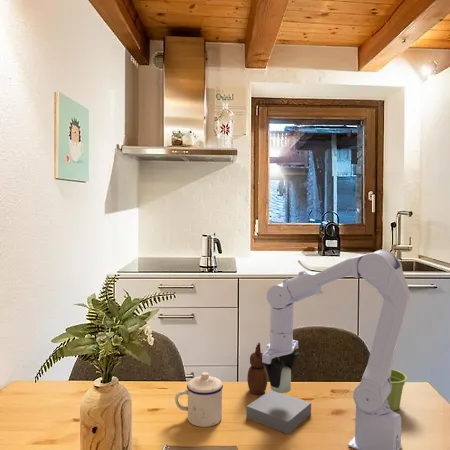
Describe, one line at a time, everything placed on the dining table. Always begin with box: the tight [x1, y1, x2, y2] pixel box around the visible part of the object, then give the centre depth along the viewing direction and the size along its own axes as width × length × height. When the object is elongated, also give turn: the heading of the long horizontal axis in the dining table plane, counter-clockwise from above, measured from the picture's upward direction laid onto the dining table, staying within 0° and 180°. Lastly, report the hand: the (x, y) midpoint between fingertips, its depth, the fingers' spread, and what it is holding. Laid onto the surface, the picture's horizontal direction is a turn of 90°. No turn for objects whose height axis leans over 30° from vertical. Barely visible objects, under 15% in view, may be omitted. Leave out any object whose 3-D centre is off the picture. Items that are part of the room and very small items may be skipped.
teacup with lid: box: [174, 371, 224, 428], centre depth 104 cm, size 12×9×12 cm
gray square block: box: [245, 389, 312, 435], centre depth 106 cm, size 12×12×3 cm
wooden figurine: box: [247, 341, 269, 395], centre depth 119 cm, size 7×6×15 cm
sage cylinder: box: [270, 366, 292, 394], centre depth 106 cm, size 5×5×5 cm
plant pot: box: [387, 368, 408, 412], centre depth 112 cm, size 9×9×9 cm
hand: (280, 382), depth 106 cm, fingers closed on sage cylinder, 5 cm apart
